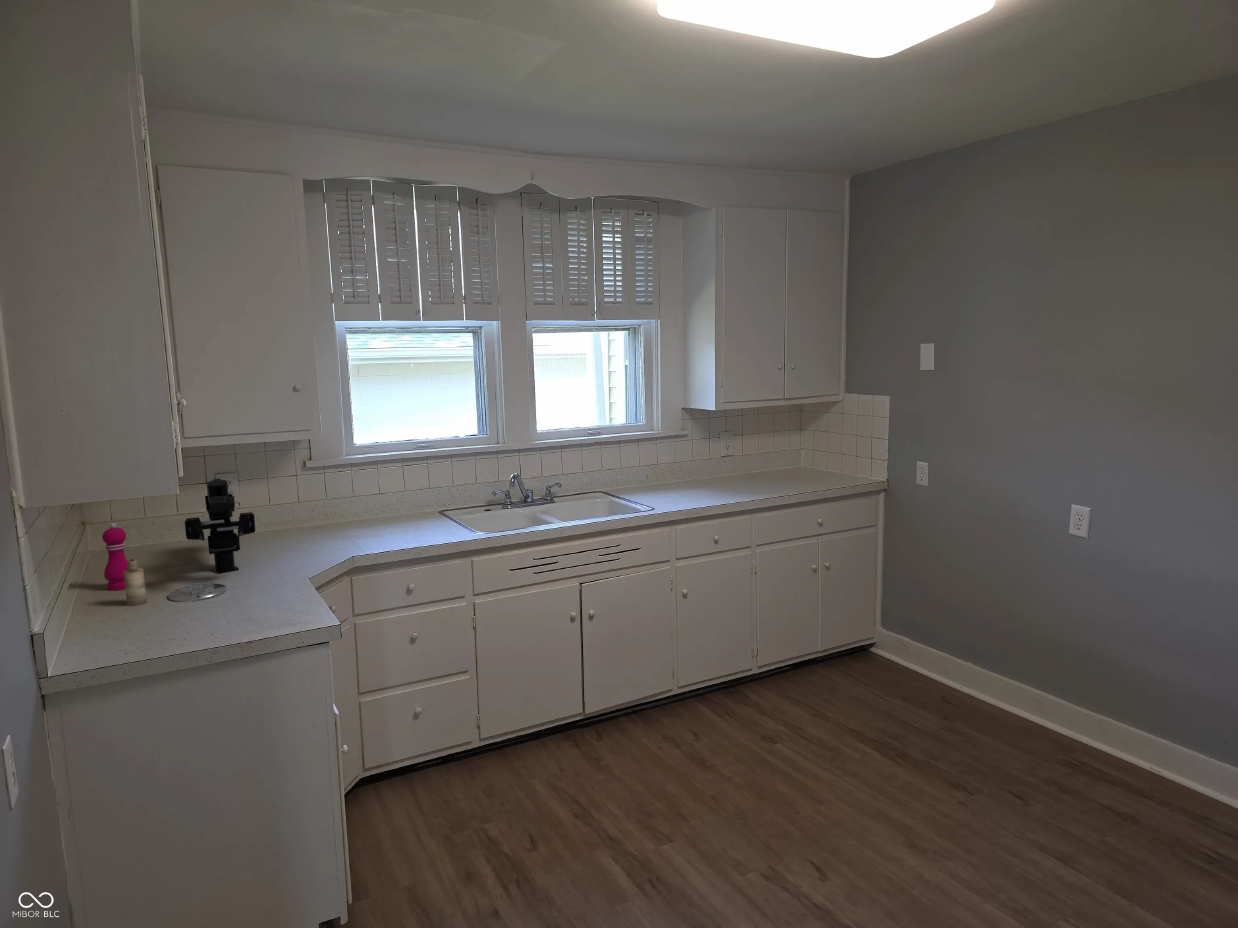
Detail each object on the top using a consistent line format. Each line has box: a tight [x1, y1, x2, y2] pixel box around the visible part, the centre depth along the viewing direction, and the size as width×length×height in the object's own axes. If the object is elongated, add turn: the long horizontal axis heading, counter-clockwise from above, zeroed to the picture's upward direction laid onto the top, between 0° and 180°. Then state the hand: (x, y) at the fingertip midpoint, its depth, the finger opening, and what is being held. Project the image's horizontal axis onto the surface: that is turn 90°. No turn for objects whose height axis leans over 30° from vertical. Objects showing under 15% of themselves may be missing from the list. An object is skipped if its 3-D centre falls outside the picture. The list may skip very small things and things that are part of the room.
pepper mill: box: [101, 522, 128, 591], centre depth 236 cm, size 7×7×20 cm
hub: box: [167, 582, 227, 603], centre depth 230 cm, size 15×15×2 cm
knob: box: [124, 558, 148, 607], centre depth 221 cm, size 5×5×13 cm
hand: (221, 537), depth 230 cm, fingers open, 9 cm apart
